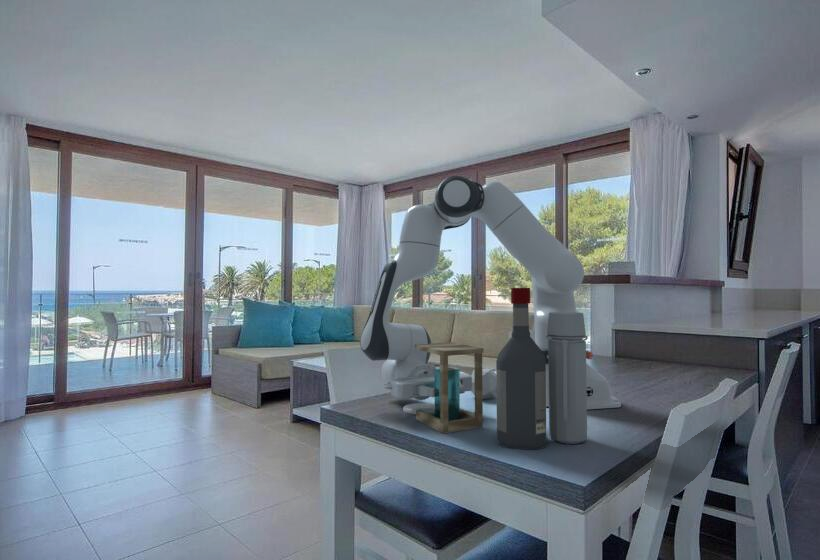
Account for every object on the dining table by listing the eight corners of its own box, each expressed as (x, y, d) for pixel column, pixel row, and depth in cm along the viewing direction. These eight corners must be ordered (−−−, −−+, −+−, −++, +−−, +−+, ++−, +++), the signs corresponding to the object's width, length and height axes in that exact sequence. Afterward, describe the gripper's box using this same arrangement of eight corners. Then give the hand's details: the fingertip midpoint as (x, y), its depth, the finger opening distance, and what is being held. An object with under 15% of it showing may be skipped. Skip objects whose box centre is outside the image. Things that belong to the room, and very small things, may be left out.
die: (496, 405, 123) (510, 373, 127) (468, 389, 123) (482, 357, 127) (486, 409, 130) (499, 378, 134) (459, 394, 130) (473, 364, 134)
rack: (414, 418, 108) (414, 344, 108) (451, 413, 113) (451, 342, 113) (444, 434, 96) (443, 351, 97) (484, 427, 101) (483, 348, 101)
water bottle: (549, 431, 98) (547, 311, 98) (589, 436, 95) (588, 312, 95) (543, 445, 89) (542, 313, 90) (588, 451, 86) (586, 314, 87)
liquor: (496, 447, 88) (494, 288, 89) (500, 433, 97) (498, 288, 98) (546, 451, 86) (544, 287, 86) (545, 436, 95) (544, 287, 95)
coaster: (437, 405, 120) (437, 402, 120) (441, 414, 111) (441, 412, 111) (402, 405, 120) (402, 403, 120) (403, 415, 111) (403, 412, 111)
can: (457, 418, 108) (457, 365, 108) (461, 425, 102) (461, 369, 102) (433, 418, 108) (433, 365, 108) (435, 426, 102) (435, 369, 102)
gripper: (381, 371, 112) (407, 381, 100) (453, 364, 121) (485, 373, 109) (381, 398, 112) (407, 411, 100) (453, 389, 121) (486, 400, 109)
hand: (449, 391), depth 104 cm, fingers closed on can, 6 cm apart
